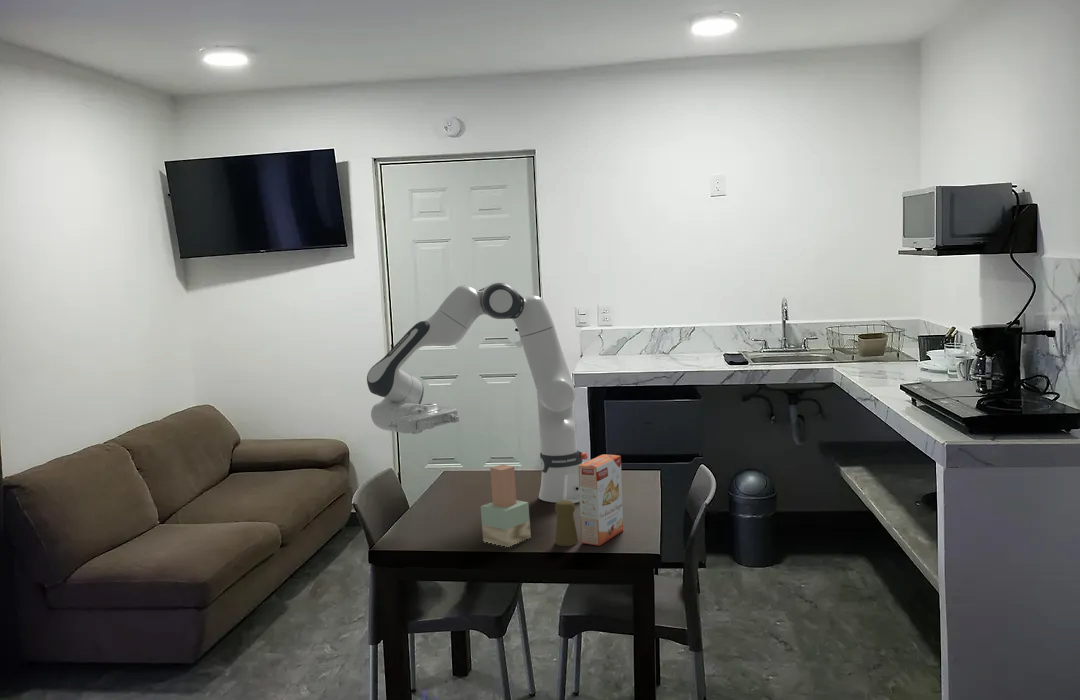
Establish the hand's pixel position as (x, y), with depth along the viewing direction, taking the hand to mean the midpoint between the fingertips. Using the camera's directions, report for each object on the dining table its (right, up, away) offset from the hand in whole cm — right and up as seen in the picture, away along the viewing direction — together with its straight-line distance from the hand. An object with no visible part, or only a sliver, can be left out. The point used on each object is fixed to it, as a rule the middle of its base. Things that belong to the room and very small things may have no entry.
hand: (445, 422), depth 238 cm
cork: (+34, -30, -18) cm, 49 cm away
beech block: (+18, -30, -13) cm, 38 cm away
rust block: (+17, -20, -14) cm, 30 cm away
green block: (+18, -25, -14) cm, 34 cm away
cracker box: (+44, -29, -16) cm, 55 cm away
